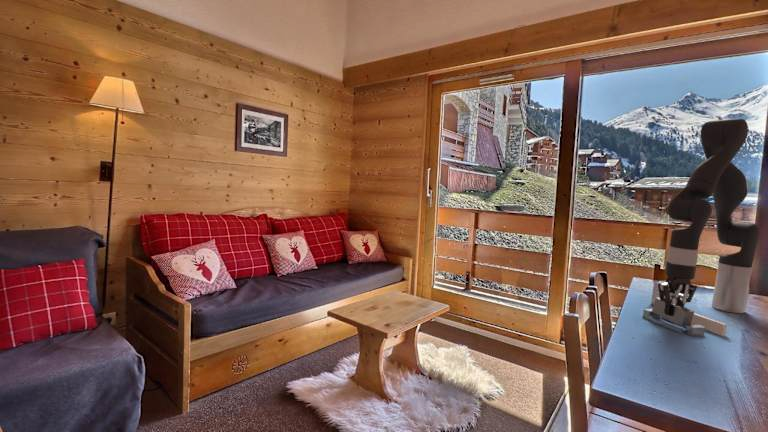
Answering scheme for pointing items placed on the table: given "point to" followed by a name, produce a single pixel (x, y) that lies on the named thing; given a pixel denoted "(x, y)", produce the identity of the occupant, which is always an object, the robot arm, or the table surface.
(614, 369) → the table surface
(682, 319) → the lock bar
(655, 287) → the medicine box
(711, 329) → the door edge
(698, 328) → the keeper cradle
